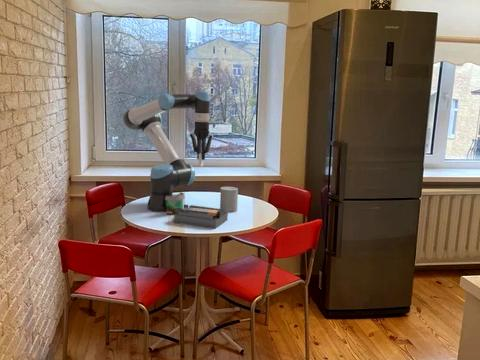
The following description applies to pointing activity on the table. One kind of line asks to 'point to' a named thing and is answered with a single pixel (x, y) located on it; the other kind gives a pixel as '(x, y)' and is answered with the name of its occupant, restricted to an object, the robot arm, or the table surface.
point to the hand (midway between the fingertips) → (200, 165)
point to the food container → (174, 203)
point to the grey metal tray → (201, 217)
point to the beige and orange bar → (200, 211)
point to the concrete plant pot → (229, 199)
